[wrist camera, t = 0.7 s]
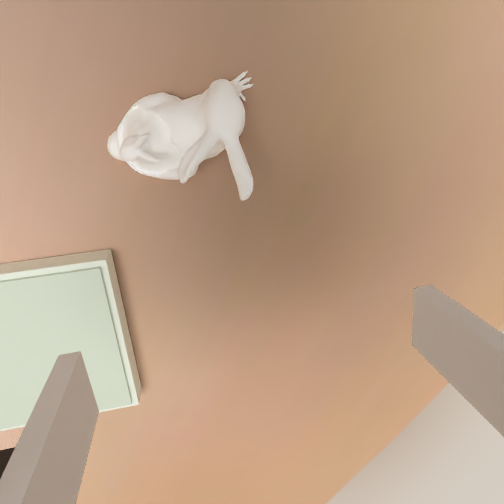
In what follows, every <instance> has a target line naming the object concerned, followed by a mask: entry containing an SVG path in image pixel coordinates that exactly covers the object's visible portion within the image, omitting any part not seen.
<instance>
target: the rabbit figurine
mask: <svg viewBox="0 0 504 504" xmlns="http://www.w3.org/2000/svg"><path fill="white" fill-rule="evenodd" d="M247 72H248V71H246V72H242V73H241V74H240V75H239V76H238V77H236V78H235V79H233V80H232V81H228V80H226V79H218V80H215V81H213V82H212V83H211V84H210V87H209V88H208V89H207V90H205V91H204V92H203V93H202V94H199V95H195V96H193V97H190V98H187V99H184V100H181V99H180V98H178V97H177V96H174V95H169V94H167V93H155V94H151V95H147V96H145V97H143V98H141V99H139V100H138V101H137V102H135V103H134V104H133V105H132V107H131V108H130V109H129V111H128V112H127V113H126V115H125V116H124V118H123V120H122V121H121V123H120V124H119V126H118V129H117V130H116V131H114V132H113V133H112V134H111V135H110V136H109V138H108V143H107V147H108V151H109V153H110V154H111V156H112V157H113V158H115V159H117V160H121V161H125V162H126V163H127V164H128V165H129V166H130V167H131V168H132V169H133V170H135V171H136V172H138V173H140V174H143V175H147V176H151V177H155V178H159V179H169V180H180V183H185V182H186V181H187V180H188V179H189V178H190V177H192V176H193V175H195V173H196V172H197V170H198V165H199V164H200V163H201V162H202V161H203V160H206V159H209V158H212V157H215V156H217V155H218V154H219V153H220V152H222V151H223V150H225V149H226V151H227V154H228V158H229V162H230V166H231V169H232V172H233V175H234V177H235V180H236V183H237V187H238V191H239V196H240V200H244V201H245V200H246V199H247V198H249V197H250V195H251V193H252V191H253V188H254V185H253V184H254V180H253V177H252V173H251V170H250V168H249V165H248V163H247V159H246V157H245V155H244V152H243V149H242V147H241V144H240V142H239V136H240V135H241V133H242V131H243V129H244V126H245V109H244V106H243V103H242V101H241V99H240V97H241V98H242V100H244V101H245V102H246V98H245V97H244V96H243V95H242V93H241V91H242V90H245V89H247V88H251V86H253V85H254V84H247V85H244V84H245V83H247V82H249V80H250V79H251V78H252V77H250V78H245V79H244V80H241V79H242V78H243V77H245V74H246V73H247ZM240 80H241V81H240ZM242 85H243V86H242Z"/></svg>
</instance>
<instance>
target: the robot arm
mask: <svg viewBox="0 0 504 504" xmlns="http://www.w3.org/2000/svg"><path fill="white" fill-rule="evenodd" d="M412 346H413V347H414V348H415V349H416V350H417V351H418V352H419V353H420V354H421V355H422V356H423V357H424V358H425V359H426V360H427V361H428V362H429V363H430V364H431V365H432V366H433V367H434V368H435V369H436V370H437V371H438V372H439V373H440V374H441V375H442V376H443V377H444V378H445V379H446V380H447V381H448V382H449V383H450V384H451V385H452V386H453V387H454V388H455V389H456V390H457V391H458V392H459V393H460V394H461V395H462V396H463V397H464V398H465V399H466V400H467V401H468V402H469V403H470V404H472V406H473V407H475V409H476V410H477V411H478V412H479V413H480V414H481V415H482V416H483V417H484V418H485V419H486V420H487V421H488V422H489V423H490V424H491V425H492V426H493V427H494V428H495V429H496V430H497V431H498V432H499V433H500V434H501V435H502V436H503V437H504V334H503V333H501V332H500V331H498V330H497V329H495V328H494V327H493V326H491V325H490V324H488V323H487V322H485V321H484V320H482V319H481V318H479V317H478V316H476V315H475V314H474V313H472V312H471V311H469V310H468V309H466V308H465V307H463V306H462V305H460V304H459V303H457V302H456V301H454V300H453V299H452V298H450V297H449V296H447V295H446V294H444V293H443V292H441V291H440V290H438V289H437V288H435V287H434V286H433V285H427V286H422V287H416V288H414V301H413V327H412ZM98 413H99V409H98V406H97V403H96V400H95V396H94V393H93V390H92V387H91V383H90V380H89V377H88V374H87V370H86V367H85V364H84V361H83V357H82V354H81V351H78V352H73V353H68V354H63V355H59V356H58V358H57V360H56V362H55V364H54V366H53V368H52V370H51V373H50V375H49V377H48V379H47V381H46V383H45V385H44V387H43V390H42V392H41V394H40V396H39V398H38V400H37V402H36V404H35V407H34V409H33V411H32V413H31V415H30V417H29V419H28V421H27V423H26V426H25V428H24V430H23V432H22V434H21V436H20V438H19V440H18V443H17V445H16V447H14V448H10V449H5V450H0V504H76V501H77V497H78V493H79V489H80V485H81V481H82V477H83V473H84V469H85V465H86V461H87V457H88V453H89V449H90V445H91V441H92V437H93V433H94V429H95V425H96V421H97V417H98Z"/></svg>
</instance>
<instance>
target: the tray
mask: <svg viewBox="0 0 504 504" xmlns="http://www.w3.org/2000/svg"><path fill="white" fill-rule="evenodd" d="M78 351H81V354H82V357H83V361H84V364H85V367H86V370H87V374H88V377H89V380H90V383H91V387H92V390H93V393H94V396H95V400H96V403H97V406H98V409H99V412H103V411H108V410H113V409H119V408H124V407H129V406H134V405H139V400H140V392H141V383H140V379H139V374H138V370H137V365H136V361H135V356H134V352H133V347H132V343H131V338H130V334H129V329H128V325H127V320H126V315H125V311H124V306H123V302H122V297H121V293H120V288H119V284H118V279H117V275H116V270H115V266H114V261H113V257H112V252H111V249H107V250H99V251H92V252H85V253H77V254H70V255H63V256H55V257H48V258H41V259H33V260H26V261H19V262H12V263H4V264H0V431H4V430H9V429H14V428H19V427H25V426H26V423H27V421H28V419H29V417H30V415H31V413H32V411H33V409H34V407H35V404H36V402H37V400H38V398H39V396H40V394H41V392H42V390H43V387H44V385H45V383H46V381H47V379H48V377H49V375H50V373H51V370H52V368H53V366H54V364H55V362H56V360H57V358H58V356H59V355H63V354H68V353H73V352H78Z"/></svg>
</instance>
